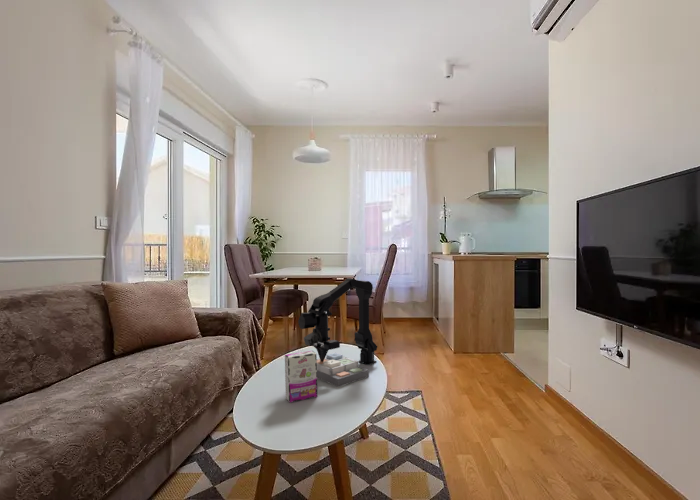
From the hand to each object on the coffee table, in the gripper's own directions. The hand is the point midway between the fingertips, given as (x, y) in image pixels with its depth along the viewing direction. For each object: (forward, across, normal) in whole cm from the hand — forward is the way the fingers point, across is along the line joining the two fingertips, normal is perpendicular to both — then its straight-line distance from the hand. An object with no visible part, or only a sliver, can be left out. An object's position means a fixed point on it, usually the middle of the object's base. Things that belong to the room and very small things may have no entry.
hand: (322, 361), depth 163 cm
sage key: (+2, +7, +7) cm, 10 cm away
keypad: (+6, +6, +4) cm, 9 cm away
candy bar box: (+6, +16, -22) cm, 28 cm away
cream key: (+1, +7, 0) cm, 7 cm away
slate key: (+1, 0, +7) cm, 7 cm away
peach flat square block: (+2, 0, 0) cm, 2 cm away
